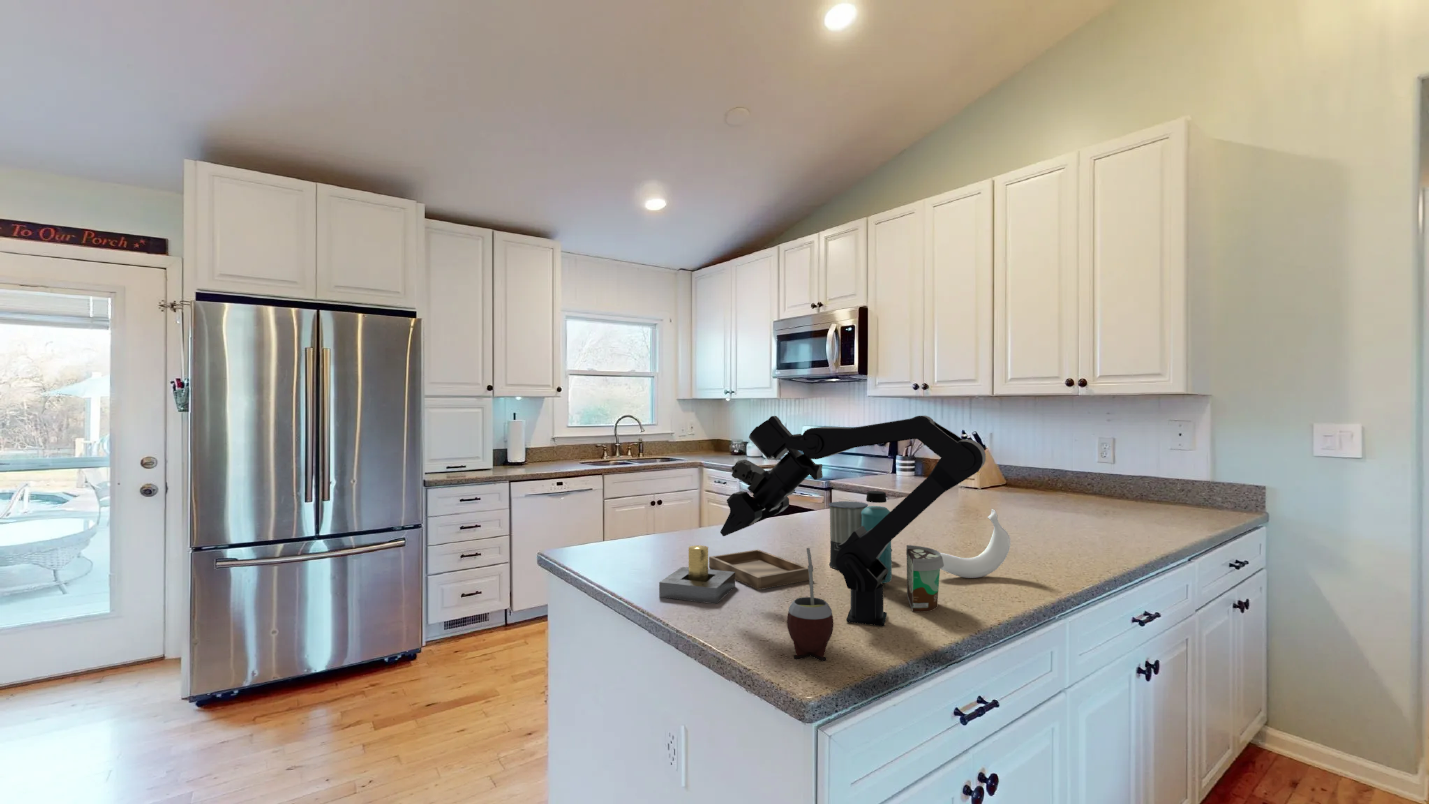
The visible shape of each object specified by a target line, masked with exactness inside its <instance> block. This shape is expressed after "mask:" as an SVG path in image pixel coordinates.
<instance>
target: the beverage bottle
mask: <svg viewBox="0 0 1429 804" xmlns="http://www.w3.org/2000/svg"><path fill="white" fill-rule="evenodd" d="M865 501H866V502H868V503H873V504H874V503H877V504H881V503H887V501H888V500H887V493H886V491H881V490H868V491H867V492H866V500H865ZM890 512H891V511H890V510H889V508H887V507H886V506H880V505H868V506H867V507H866V508H865V509H863V510H862V512H861V515H862V523H861V526H863V527H864V528H865V530H866V531H869V530H871V529H872V528H874V527H875V526H876V525H877V524H878V523H879V522H880V521H881V520H882V519H883V518H884V517H885V516H886V515H888V514H889V513H890ZM891 549H892V540H891V541H890V542H889V544H888V545H887V547H886V548H885V550H884V551H883V553H882V554H881V555H880V557H879V558H878V559H879V560H880V561H881V562H882V563H883V564H884V565H885V566H886V567H887V569H888V570H889V571H888V574H887V576H886V579H885V580H884V581H883V582H882V584H886V583H890V582H892V578H893V577H892V576H893V575H892V574H893V570H892V568H893V563H892V552H891Z"/></svg>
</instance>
